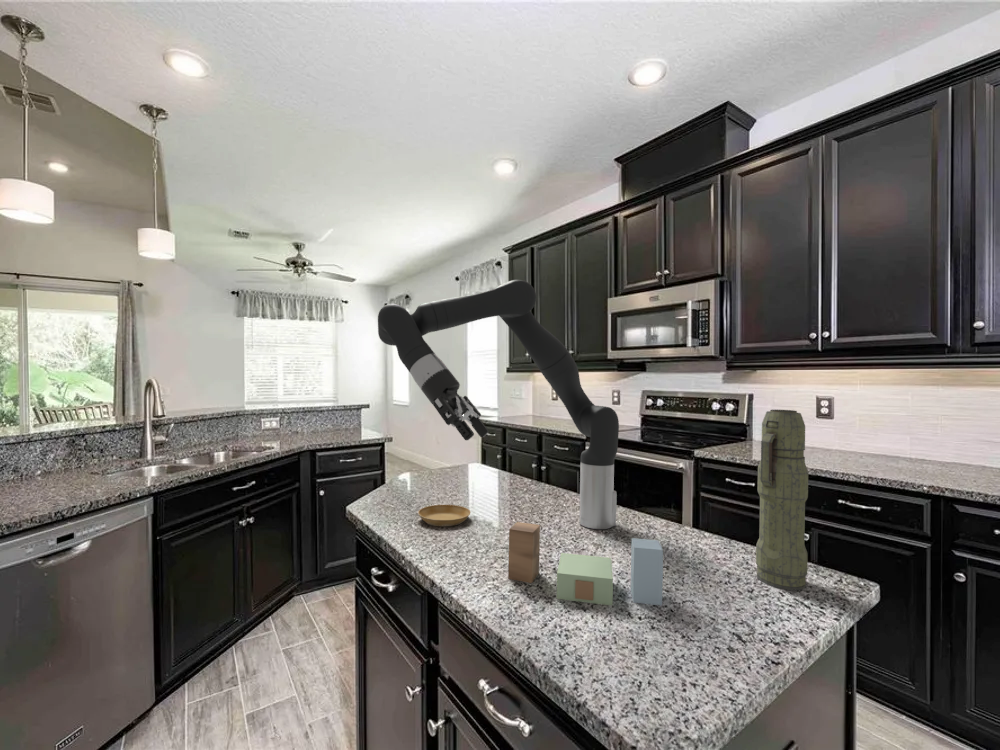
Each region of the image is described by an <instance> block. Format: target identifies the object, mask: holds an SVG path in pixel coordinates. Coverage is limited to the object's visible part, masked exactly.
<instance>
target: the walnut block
mask: <svg viewBox="0 0 1000 750" xmlns="http://www.w3.org/2000/svg"><path fill="white" fill-rule="evenodd" d="M508 534H509V535H508V566H507V567H508V570H507V572H508V573H507V574H508V575H507V576H508V577H507V578H508V580H514V581H519V582H524V583H530V584H533V582H534V581H535V579H536V578H537V577H538V575H539V574H540V541H541V540H540V538H541V525H540V524H536V523H535V524H534V523H528V522H521V521H517V522H516V523H514V524H513V525H512V526H510V528H509V529H508Z"/></svg>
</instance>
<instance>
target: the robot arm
mask: <svg viewBox="0 0 1000 750" xmlns="http://www.w3.org/2000/svg"><path fill="white" fill-rule="evenodd" d="M536 302H537V293H536V291H535V288H534V287H533V285H532V284H531V283H529V282H527V281H526V280H522V279H512V280H509V281H506V282H504V283H501V284H500V285H498V286H497V287H495V288H494V289H493V288H492V289H490V290H485V291H483V292H479V293H474V294H469V295H468V294H467V295H461V296H455V297H449V298H445V299H443V298H442V299H438V300H433V301H429V302H425V303H422V304H419V305H418V306H417V307H416V309H415V310H414V312H413V313H410V312H409V311H408V309H406V308H405V307H403V306H401V305H399V304H396V303H388V304H385V305H384V306H383V307H381V308H380V310H379V312H378V315H377V333H378V337H379V339H380V341H381V342H383V343H384V344H385V345H388V346H394V347H396V349H397V355H398V358H399V359H400V361H401V362H402V364H403V365H404V367H405V368H406V370H407V371H408V372H409V373H410V375H411V376H412V379H413V381H414V382H415V384H416V385H417V386H418V387H419V389H420V390H421V391H422V393H423V394H424V395H425V397H426V398H427V399H428V400H429V402H430V404H431V405H432V406H433V407H434V408H435V410H436V411H437V413H438V415H440V417H441V418H442V420H443V421H444V423H445V424H446V425H448V426H452V427H453V428H455V429H456V430H457V431H458V433H459V434H460V435H461V437H462V438H463V439H464V441H469V440H470V439H472V438H473V437H474V435H475V433H474V431H475V432H476V433H477V434H478V436H479V438H485V437H486V436H487V435H488V434H489V429H488V428H487V427H486V425H485V424H484V423H483V421H482V420H481V419H480V417H481V416H482V414H481V412H480V411H479V410H478V409H477V408H476V406H475V405H474V403H472V401H471V400H470V399H469V397H468V396H466V395H464V396H461V395H460V394H459V393H458V390H459V389H460V386H461V384H460V382H459V381H458V380H457V378H456V377H455V375H454V374H453V373H452V372H451V370H450V369H449V368H448V366H447V365H446V364H445V363H444V362H443V361H442V360H441V359H440V358H439V356H438V355H437V354H436V352H434V351H433V349H432V347H430V345H429V344H428V343H427V341H425V339H424V337H423V336H425V335H427V334H429V333H433V332H438V331H442V330H448V329H451V328H455V327H459V326H463V325H466V324H469V323H472V322H475V321H480V320H482V319H487V318H492V317H493V318H494V317H499V318H501V319H502V321H503V322H504V323H505V324H506V325H507V326H508V327H509V329H510V330H511V331H512V332H513V334H515V336H516V337H517V339H518V341H520V343H521V344H522V346H523V347H524V349H525V350H526V352H527V353H528V355H529V357H530V358H531V359H532V361H533V362H534V364H535V365H536V367H537V368H538V369H539V371H540V373H541V375H543V377H544V379H545V380H546V381H547V383H548V385H550V387H551V388H552V390H553V391H554V392H555V394H556V395H557V397H558V398H559V400H560V401H561V402H562V404H563V405H564V407H565V408H566V411H567V412H568V414H569V417H570V419H572V422H573V423H574V425H575V427H576V428H577V429H578V432H580V433H581V434H582V435H583V436H584V437H585V436H586V437H587V438H589V447H588V448H587V449H585V450H583V451H582V452H581V454H580V465H579V466H580V468H579V469H580V474H579V475H580V476H579V477H580V478H579V481H580V482H579V515H578V517H579V521H578V522H579V525H581V526H583V527H585V528H588V529H594V530H608V529H611V528H613V527H616V526H617V498H618V497H617V496H618V495H617V491H616V490H614V488H615V485H614V484H615V483H614V481H615V480H614V477H615V458H616V455H617V453H618V449H619V448H618V446H619V445H618V444H619V433H620V420H619V417H618V414H617V412H616V410H614V409H613V408H611V407H609V406H603V405H595V403H593V402H592V401H591V400H590V398H589V397H588V395H587V394H586V393H585V391H584V389H583V388H582V383H581V378H580V372H579V369H578V365H577V363H576V362H575V359H574V358H573V356H572V355H571V353H570V351H568V349H567V348H566V346H565V345H564V343H562V342H561V340H559V339H558V338H557V337H556V336H555V335H553V334H552V333H551V332H550V331H549V330H547V329H546V328H545V327H544V326H543V325H542V324H541V323H540V322H539V321H538V320H537V319H536V317H535V316H534V314H533V313H532V310H533V308H534V307H535V305H536ZM467 422H468V423H469V424H470V425H471V427H472V428H473V429H474V431H473V430H472V429H471V427H470V426H469V425H468V424H467Z"/></svg>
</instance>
